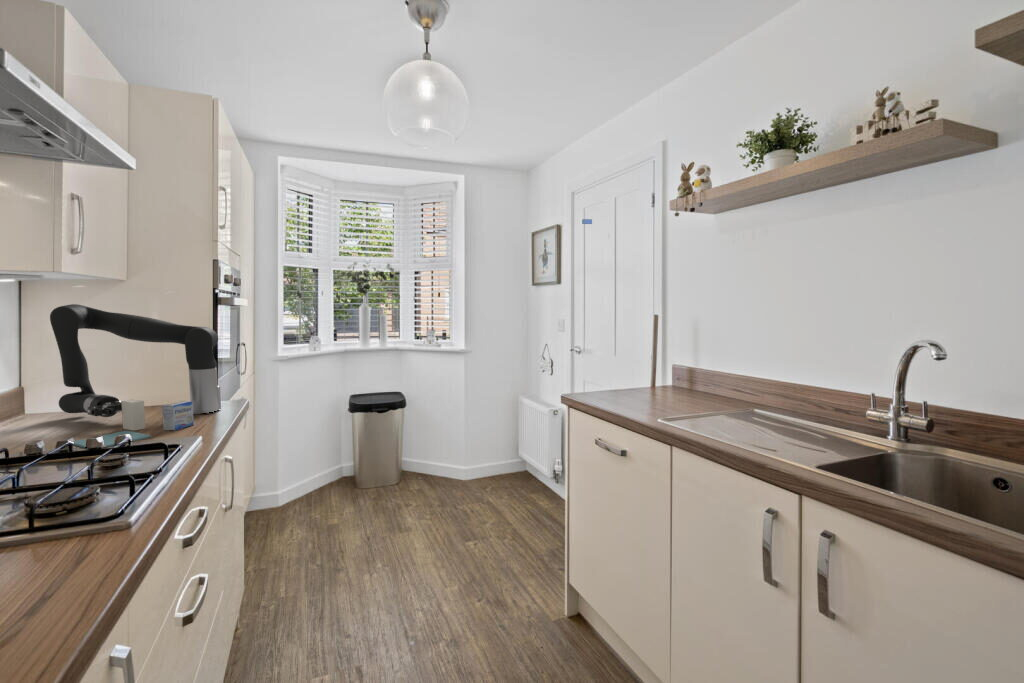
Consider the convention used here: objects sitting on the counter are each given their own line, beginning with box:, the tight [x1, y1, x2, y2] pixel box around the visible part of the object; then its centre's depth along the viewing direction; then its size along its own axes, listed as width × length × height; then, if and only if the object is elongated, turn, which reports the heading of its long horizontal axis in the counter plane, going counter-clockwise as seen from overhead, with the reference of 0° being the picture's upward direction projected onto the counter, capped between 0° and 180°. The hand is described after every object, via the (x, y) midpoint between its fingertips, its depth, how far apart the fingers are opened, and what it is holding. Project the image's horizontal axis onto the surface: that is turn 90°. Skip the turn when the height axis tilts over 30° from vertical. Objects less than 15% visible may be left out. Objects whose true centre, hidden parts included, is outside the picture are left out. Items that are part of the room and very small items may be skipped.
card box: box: [120, 398, 147, 432], centre depth 165 cm, size 4×6×10 cm, turn 64°
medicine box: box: [161, 400, 194, 432], centre depth 165 cm, size 8×4×9 cm, turn 168°
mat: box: [72, 429, 152, 449], centre depth 150 cm, size 15×14×1 cm
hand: (127, 409), depth 166 cm, fingers open, 8 cm apart
